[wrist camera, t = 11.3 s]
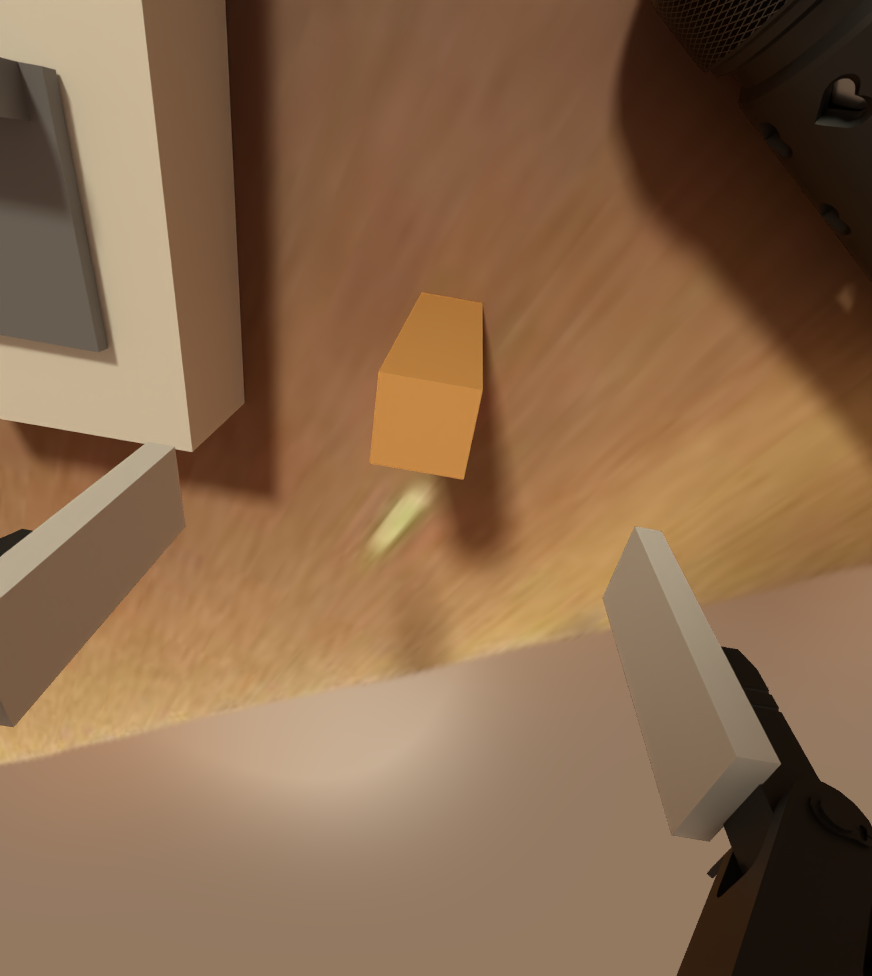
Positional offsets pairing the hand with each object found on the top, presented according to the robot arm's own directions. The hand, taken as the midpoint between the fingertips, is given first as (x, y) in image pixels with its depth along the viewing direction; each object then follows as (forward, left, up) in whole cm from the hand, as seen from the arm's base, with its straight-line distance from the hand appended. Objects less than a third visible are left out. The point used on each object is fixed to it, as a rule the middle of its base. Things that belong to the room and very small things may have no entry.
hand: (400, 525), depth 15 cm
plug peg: (0, 0, -23) cm, 23 cm away
